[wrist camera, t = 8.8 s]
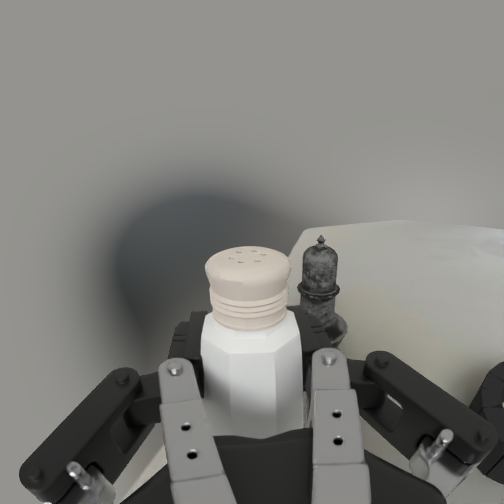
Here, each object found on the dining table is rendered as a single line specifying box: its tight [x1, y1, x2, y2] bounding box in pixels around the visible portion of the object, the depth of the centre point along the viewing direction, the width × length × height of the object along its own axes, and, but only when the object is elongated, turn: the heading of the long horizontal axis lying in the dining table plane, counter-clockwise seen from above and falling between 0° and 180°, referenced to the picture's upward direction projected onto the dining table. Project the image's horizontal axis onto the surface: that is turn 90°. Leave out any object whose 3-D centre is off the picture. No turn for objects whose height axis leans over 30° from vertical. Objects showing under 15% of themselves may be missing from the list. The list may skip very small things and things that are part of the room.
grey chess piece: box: [297, 235, 347, 350], centre depth 25 cm, size 6×6×12 cm
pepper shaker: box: [201, 246, 304, 439], centre depth 11 cm, size 5×5×11 cm
